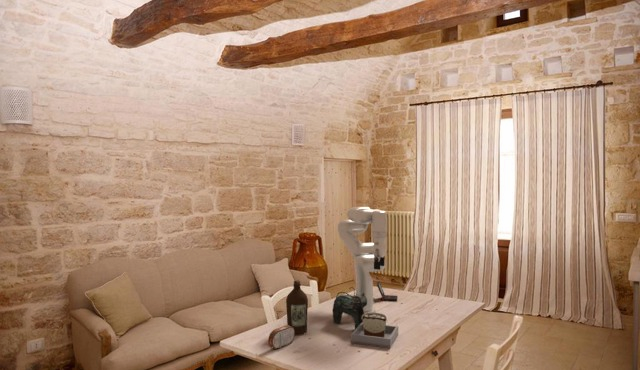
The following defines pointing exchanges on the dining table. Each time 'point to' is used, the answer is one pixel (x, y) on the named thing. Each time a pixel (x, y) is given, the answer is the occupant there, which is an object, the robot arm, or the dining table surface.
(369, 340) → the tray
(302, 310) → the olive oil
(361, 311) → the teal animal figurine
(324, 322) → the dining table surface
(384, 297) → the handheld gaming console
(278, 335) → the tin
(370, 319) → the food container
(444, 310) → the dining table surface
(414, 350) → the dining table surface
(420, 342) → the dining table surface
